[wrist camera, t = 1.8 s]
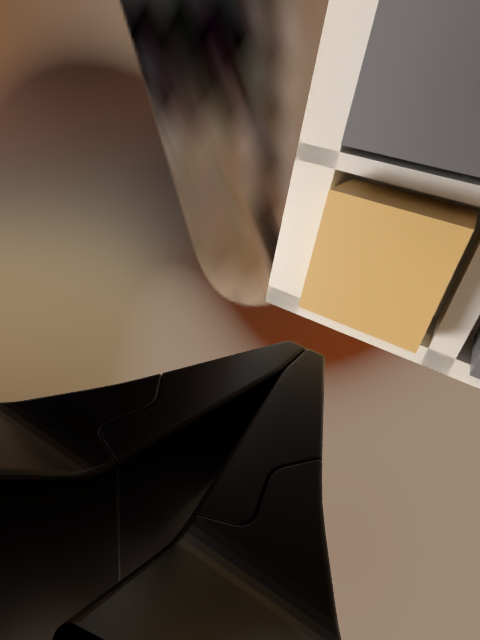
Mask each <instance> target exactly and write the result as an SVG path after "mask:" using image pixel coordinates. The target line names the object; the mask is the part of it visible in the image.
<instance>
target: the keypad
mask: <svg viewBox="0 0 480 640" xmlns="http://www.w3.org/2000/svg"><path fill="white" fill-rule="evenodd" d="M378 2H379V0H329V3H328V8H327V12H326V17H325V22H324V26H323V31H322V36H321V41H320V45H319V50H318V55H317V59H316V64H315V69H314V73H313V78H312V83H311V88H310V92H309V97H308V102H307V106H306V111H305V116H304V121H303V125H302V130H301V135H300V139H299V144H298V149H297V153H296V158H295V163H294V168H293V172H292V177H291V182H290V186H289V191H288V196H287V200H286V205H285V210H284V215H283V219H282V224H281V229H280V233H279V238H278V243H277V248H276V252H275V257H274V262H273V266H272V271H271V276H270V280H269V285H268V290H267V295H266V299H265V301H266V302H268V303H271V304H273V305H276V306H279V307H281V308H283V309H286V310H288V311H291V312H293V313H295V314H298V315H300V316H303V317H305V318H308V319H310V320H313V321H315V322H317V323H320V324H322V325H325V326H327V327H330V328H332V329H334V330H337V331H339V332H342V333H344V334H347V335H349V336H352V337H355V338H357V339H359V340H361V341H364V342H366V343H369V344H371V345H374V346H376V347H379V348H381V349H383V350H386V351H388V352H391V353H393V354H396V355H398V356H401V357H403V358H405V359H408V360H410V361H413V362H415V363H418V364H421V365H423V366H425V367H428V368H430V369H432V370H435V371H437V372H440V373H442V374H445V375H447V376H450V377H452V378H455V379H457V380H460V381H462V382H464V383H467V384H469V385H472V386H474V387H476V388H479V389H480V379H478V378H475V377H473V376H470V375H469V374H470V365H471V356H472V348H473V339H474V336H475V334H476V332H477V331H478V329H479V327H480V177H476V176H471V175H467V174H463V173H458V172H454V171H450V170H446V169H441V168H437V167H433V166H429V165H424V164H420V163H416V162H412V161H407V160H403V159H399V158H395V157H390V156H386V155H382V154H378V153H373V152H369V151H365V150H361V149H356V148H352V147H348V146H343V145H341V142H342V138H343V135H344V131H345V127H346V123H347V119H348V116H349V112H350V108H351V104H352V100H353V97H354V93H355V89H356V85H357V81H358V78H359V74H360V70H361V66H362V63H363V59H364V55H365V51H366V47H367V44H368V40H369V36H370V32H371V28H372V25H373V21H374V17H375V13H376V9H377V6H378ZM351 179H358V180H362V181H366V182H369V183H373V184H377V185H381V186H385V187H389V188H392V189H396V190H400V191H404V192H408V193H411V194H415V195H419V196H423V197H427V198H430V199H434V200H438V201H442V202H446V203H449V204H453V205H457V206H461V207H465V208H468V209H472V210H476V211H478V215H477V219H476V224H475V229H474V231H473V233H472V236H471V238H470V240H469V242H468V244H467V246H466V248H465V250H464V253H463V255H462V257H461V259H460V261H459V263H458V265H457V267H456V269H455V272H454V274H453V276H452V278H451V280H450V282H449V284H448V286H447V289H446V291H445V293H444V295H443V297H442V299H441V301H440V303H439V305H438V308H437V310H436V312H435V314H434V316H433V318H432V320H431V322H430V325H429V327H428V329H427V331H426V333H425V335H424V337H423V339H422V341H421V344H420V346H419V348H418V350H417V352H416V354H415V353H413V352H410V351H408V350H405V349H403V348H400V347H398V346H395V345H393V344H390V343H388V342H385V341H383V340H380V339H378V338H375V337H373V336H370V335H368V334H365V333H363V332H360V331H358V330H355V329H353V328H350V327H348V326H345V325H343V324H340V323H338V322H335V321H333V320H331V319H328V318H326V317H323V316H321V315H318V314H316V313H313V312H311V311H308V310H306V309H303V308H301V307H298V305H299V301H300V298H301V294H302V290H303V286H304V282H305V279H306V275H307V271H308V267H309V264H310V260H311V256H312V252H313V248H314V245H315V241H316V237H317V233H318V229H319V226H320V222H321V218H322V214H323V210H324V207H325V203H326V199H327V195H328V191H329V189H331V188H333V187H335V186H338V185H340V184H342V183H344V182H347V181H349V180H351Z"/></svg>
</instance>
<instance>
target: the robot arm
mask: <svg viewBox="0 0 480 640" xmlns="http://www.w3.org/2000/svg"><path fill="white" fill-rule="evenodd" d="M324 362H325V358H324V356H323V355H322V354H320V353H317V352H315V351H313V350H310V349H305V347H303V346H301V345H299V344H297V343H294V342H292V341H285V342H281V343H277V344H273V345H269V346H265V347H261V348H258V349H254V350H250V351H246V352H242V353H238V354H235V355H231V356H227V357H223V358H219V359H215V360H211V361H208V362H204V363H200V364H196V365H192V366H188V367H184V368H181V369H177V370H173V371H169V372H165V373H163V374H162V376H161V374H157V375H153V376H149V377H145V378H142V379H137V380H133V381H129V382H124V383H120V384H115V385H110V386H104V387H99V388H94V389H89V390H83V391H77V392H71V393H66V394H59V395H54V396H48V397H42V398H36V399H30V400H24V401H18V402H5V403H0V640H341V636H340V631H339V627H338V621H337V614H336V607H335V600H334V592H333V585H332V578H331V571H330V564H329V557H328V549H327V541H326V534H325V525H324V515H323V505H322V462H321V461H322V441H323V402H324V364H325V363H324Z"/></svg>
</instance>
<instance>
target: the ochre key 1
mask: <svg viewBox="0 0 480 640" xmlns="http://www.w3.org/2000/svg"><path fill="white" fill-rule="evenodd" d="M477 215H478V211H476V210H472V209H468V208H465V207H461V206H457V205H453V204H449V203H446V202H442V201H438V200H434V199H430V198H427V197H423V196H419V195H415V194H411V193H408V192H404V191H400V190H396V189H392V188H389V187H385V186H381V185H377V184H373V183H369V182H366V181H362V180H358V179H351V180H349V181H347V182H344V183H342V184H340V185H338V186H335V187H333V188H331V189H329V191H328V195H327V199H326V203H325V207H324V210H323V214H322V218H321V222H320V226H319V229H318V233H317V237H316V241H315V245H314V248H313V252H312V256H311V260H310V264H309V267H308V271H307V275H306V279H305V282H304V286H303V290H302V294H301V298H300V301H299V305H298V307H301V308H303V309H306V310H308V311H311V312H313V313H316V314H318V315H321V316H323V317H326V318H328V319H331V320H333V321H335V322H338V323H340V324H343V325H345V326H348V327H350V328H353V329H355V330H358V331H360V332H363V333H365V334H368V335H370V336H373V337H375V338H378V339H380V340H383V341H385V342H388V343H390V344H393V345H395V346H398V347H400V348H403V349H405V350H408V351H410V352H413V353H415V354H416V352H417V350H418V348H419V346H420V344H421V341H422V339H423V337H424V335H425V333H426V331H427V329H428V327H429V325H430V322H431V320H432V318H433V316H434V314H435V312H436V310H437V308H438V305H439V303H440V301H441V299H442V297H443V295H444V293H445V291H446V289H447V286H448V284H449V282H450V280H451V278H452V276H453V274H454V272H455V269H456V267H457V265H458V263H459V261H460V259H461V257H462V255H463V253H464V250H465V248H466V246H467V244H468V242H469V240H470V238H471V236H472V233H473V231H474V229H475V224H476V219H477Z"/></svg>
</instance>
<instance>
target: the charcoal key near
mask: <svg viewBox="0 0 480 640" xmlns="http://www.w3.org/2000/svg"><path fill="white" fill-rule="evenodd" d="M341 145H343V146H348V147H352V148H356V149H361V150H365V151H369V152H373V153H378V154H382V155H386V156H390V157H395V158H399V159H403V160H407V161H412V162H416V163H420V164H424V165H429V166H433V167H437V168H441V169H446V170H450V171H454V172H458V173H463V174H467V175H471V176H476V177H480V0H379V2H378V6H377V9H376V13H375V17H374V21H373V25H372V28H371V32H370V36H369V40H368V44H367V47H366V51H365V55H364V59H363V63H362V66H361V70H360V74H359V78H358V81H357V85H356V89H355V93H354V97H353V100H352V104H351V108H350V112H349V116H348V119H347V123H346V127H345V131H344V135H343V138H342V142H341Z"/></svg>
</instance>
